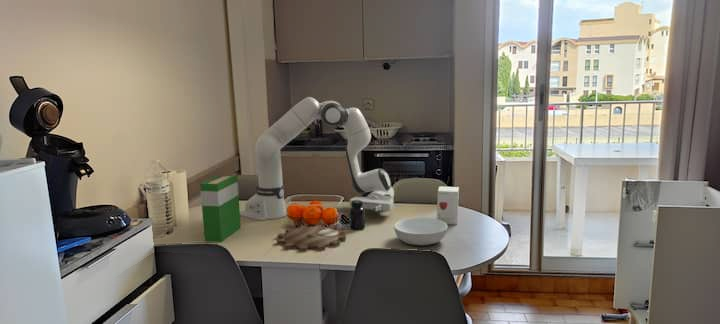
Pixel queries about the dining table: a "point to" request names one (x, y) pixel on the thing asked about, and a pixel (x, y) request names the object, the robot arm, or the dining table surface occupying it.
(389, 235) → the dining table surface
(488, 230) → the dining table surface
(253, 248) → the dining table surface
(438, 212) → the supplement box
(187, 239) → the dining table surface
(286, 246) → the sprocket wheel
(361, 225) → the supplement bottle
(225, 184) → the green cereal box
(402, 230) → the serving bowl
